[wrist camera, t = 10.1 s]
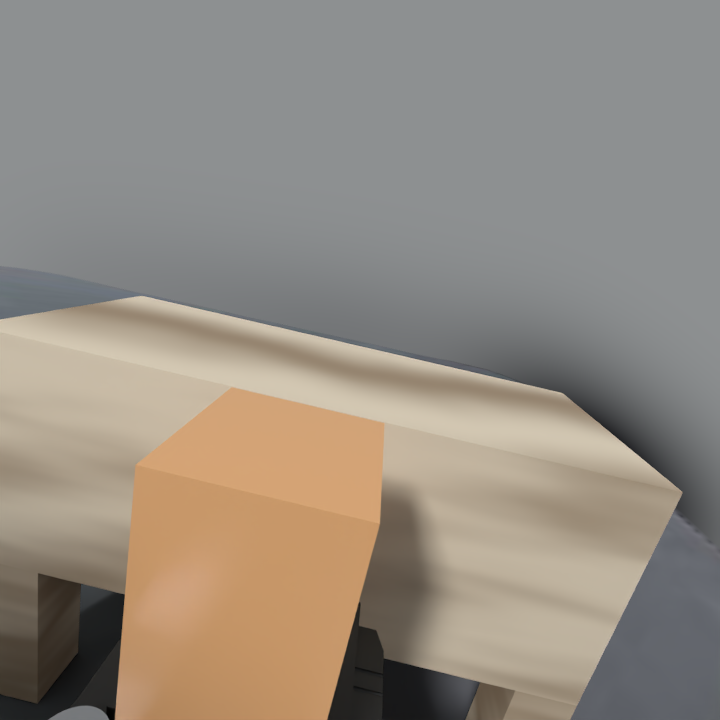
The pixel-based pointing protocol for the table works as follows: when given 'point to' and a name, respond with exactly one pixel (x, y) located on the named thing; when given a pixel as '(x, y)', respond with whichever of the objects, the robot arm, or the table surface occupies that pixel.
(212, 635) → the orange post on base
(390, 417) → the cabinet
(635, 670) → the table surface
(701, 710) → the table surface
